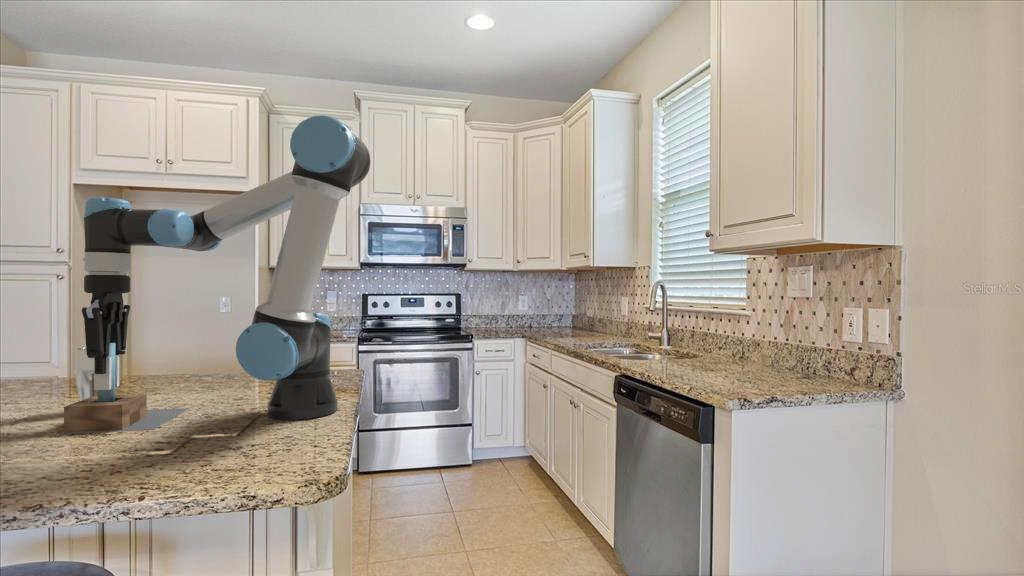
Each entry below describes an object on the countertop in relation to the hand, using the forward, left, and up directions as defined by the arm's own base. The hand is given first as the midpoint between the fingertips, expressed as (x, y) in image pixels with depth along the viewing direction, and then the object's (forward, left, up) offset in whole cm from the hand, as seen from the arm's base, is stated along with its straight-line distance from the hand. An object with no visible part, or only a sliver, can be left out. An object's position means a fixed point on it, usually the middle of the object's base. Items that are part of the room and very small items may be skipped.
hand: (106, 387), depth 106 cm
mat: (-3, -3, -8) cm, 9 cm away
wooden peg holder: (0, 0, -8) cm, 8 cm away
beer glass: (+9, -13, -8) cm, 18 cm away
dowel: (0, 0, -5) cm, 5 cm away
